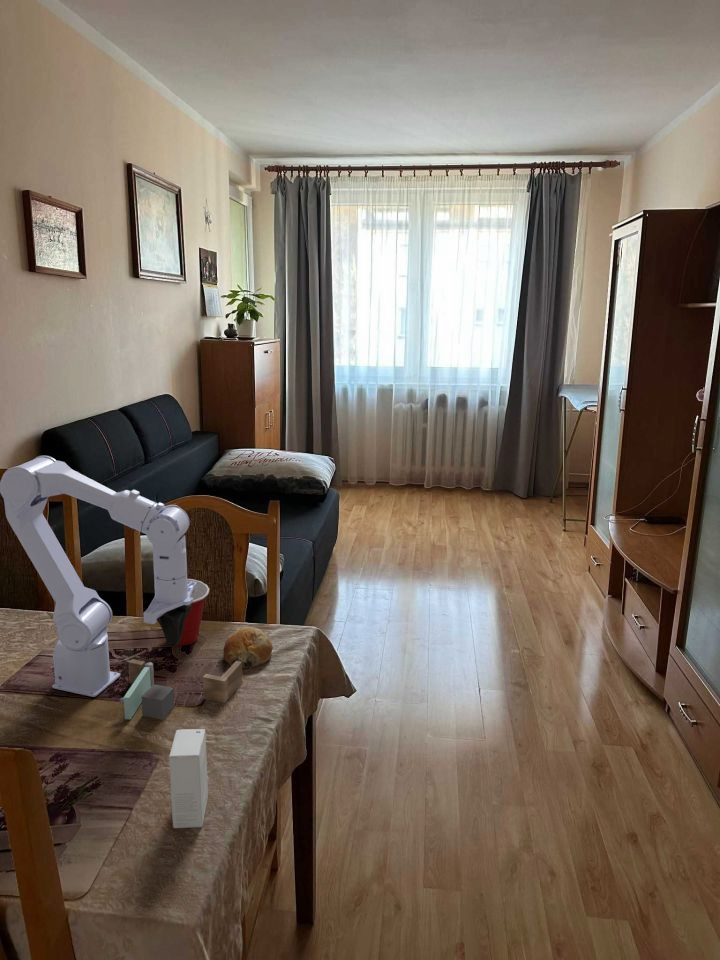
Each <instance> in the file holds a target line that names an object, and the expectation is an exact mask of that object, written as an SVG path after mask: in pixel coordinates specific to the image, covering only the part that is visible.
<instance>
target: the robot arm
mask: <svg viewBox="0 0 720 960" xmlns="http://www.w3.org/2000/svg"><path fill="white" fill-rule="evenodd" d="M140 494H141V493H140V491H138V490H136V489H132V490H128V489H125V490H122V491H118V492H116V491H115V490H113V489H111V488H109V487H107V486H105V485H103V484H102V483H99V482H97V481H96V480H94V479H91V478H89V477H87V476H86V475H85V474H82V473H81V472H79V471H76V470H74V469H72V468H71V467H70V466H69V465H68V464H67V463H66V462H65V461H61V460H56V459H55V458H54V457H52V456H50V455H39V456H36V457H35V458H34V459H32V460H30V461H27V462H24V463H22V464H20V465H17V466H13V467H10V468H8V469H6V470H5V472H4V473H3V474H2V476H1V479H0V495H1V497H2V498H3V502H4V510H5V511H4V512H5V513H4V514H5V516H6V519H7V520H6V521H7V522H8V523H9V525H10V527H11V528H12V531H13V532H14V535H16V537H17V539H18V540H19V542H20V544H21V546H22V547H23V549H24V551H25V553H26V554H27V557H28V558H29V559H30V562H32V564H33V566H34V568H35V570H36V571H37V573H38V574H39V577H40V578H41V581H42V582H43V583H44V586H45V587H46V589H47V590H48V592H49V593H50V596H51V597H52V599H53V601H54V602H55V605H54V611H53V616H52V619H53V622H54V624H55V626H56V629H57V636H58V641H57V642H56V644H55V646H54V648H53V652H52V663H53V674H54V680H55V681H54V684H52V689H56V690H60V691H65V692H68V693H69V692H70V693H74V694H79V695H82V696H88V697H91V698H96V697H97V696H99V694H101V693H102V692H103V691H104V690H106V689H107V688H108V687H109V686H110V685H111V684H113V683H114V682H115V681H117V679H118V678H120V677H121V673H120V672H116V671H115V672H114V671H111V668H110V655H109V654H110V653H109V651H110V650H109V640H108V636H109V635H108V626H109V624H110V623H111V622H112V620H113V610H112V608H111V606H110V604H108V603H107V602H106V601H105V600H104V599H102V598H101V597H100V596H99V594H98V592H97V591H96V590H95V589H93V588H88V587H86V586H84V583H83V582H82V581H81V578H80V577H79V575H78V574H77V571H76V570H75V567H74V566H73V565H72V563H71V561H70V559H69V558H68V555H67V553H66V552H65V551H64V549H63V547H62V545H61V544H60V542H59V540H58V538H57V537H56V534H55V533H54V530H53V529H52V527H51V526H50V524H49V522H48V520H47V519H46V517H45V516H44V510H45V507H46V504H47V502H48V499H49V497H54V496H59V495H67V496H70V497H73V498H75V499H77V500H81V501H84V502H86V503H89V504H91V505H94V506H96V507H100V508H102V509H105V510H107V512H108V513H109V516H110V518H111V519H112V520H113V521H115V522H117V523H119V524H122V525H124V526H127V527H129V528H130V529H132V530H136V531H138V532H140V533H142V534H145V535H146V538H147V539H148V541H149V542H150V543H151V544H152V558H153V559H152V560H153V578H154V579H153V580H154V581H153V582H154V597H153V599H152V600H151V602H150V604H149V605H148V608H146V610H145V611H144V612H143V613H142V614H143V623H145V624H149V625H155V624H156V623H158V624H159V625H160V628H161V629H162V631H163V635H164V638H165V641H166V643H167V644H168V645H169V644H171V645H175V646H177V644H178V643H179V642H180V640H181V636H182V632H183V627H184V624H185V620H186V618H187V615H188V613H189V612H190V610H191V603H192V602H193V598H192V597H190V596H191V594H192V593H196V592H197V582H192V581H187V579H188V561H187V559H188V558H187V548H186V545H187V543H186V535H185V533H186V532H187V531H188V529H189V528H190V523H191V522H190V517H189V515H188V513H187V512H186V511H185V510H184V509H182V508H181V507H180V506H179V505H178V504H177V505H176V504H167V505H165V504H164V503H162V502H161V501H159V502H156V501H153V500H150V499H148V498H146V497H144V496H141V495H140Z"/></svg>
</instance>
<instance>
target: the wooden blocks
mask: <svg viewBox="0 0 720 960" xmlns="http://www.w3.org/2000/svg"><path fill="white" fill-rule="evenodd" d="M145 664H146V661H144V660H139V659H135V658H133V659H131V660H130V661H128V673H129V674H128V676H129V684H131V685H132V684H133V683H134V682H135V680H136V679H137V677H138V676H139V674H140V673H141V671H142V670H143V669H144V667H145ZM242 683H243V668H242V662H240V661H236V662H235V663H234V664H233V665H231V666H230V667H229V668H228V669H227V670H226V672H225V673H224V674H223V675H222V676H221V675H220V676H219V675H215V674H214V675H213V674H210V673H205V674H204V675H203V676H202V691H203V692H202V693H203V695H202V697H203V700H209V701H214V702H219V703H223V704H226V703H227V702H228V701H229V699H230V698H231V697H232V695H233V694H234V693H235V692H236V691H237V690H238V689H239V687H240V686H241V685H242Z"/></svg>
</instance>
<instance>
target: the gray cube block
mask: <svg viewBox="0 0 720 960" xmlns="http://www.w3.org/2000/svg"><path fill="white" fill-rule="evenodd" d="M141 698H142V702H141V713H142V717H147V718H152V719H156V720H162V721H163V720H164V719H166V717H168V715H169V714H170V713H171V712H172V710H173V709H175V691H174V687H170V686H165V685H160V684H155V683H154V684H153V685H152V686H151V687H150V688H149V689H148V690H147V691H146V692H145V693H144V694H143V695H142V696H141Z"/></svg>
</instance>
